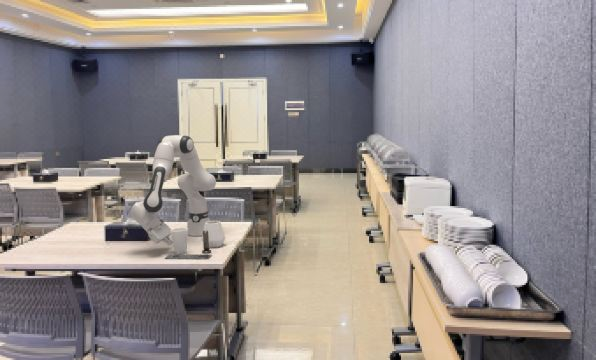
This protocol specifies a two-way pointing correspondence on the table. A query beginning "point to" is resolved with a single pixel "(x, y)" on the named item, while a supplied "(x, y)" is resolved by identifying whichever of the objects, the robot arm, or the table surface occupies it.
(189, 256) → the hole plate
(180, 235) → the foam cup
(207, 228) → the white bulging cylinder
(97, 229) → the table surface
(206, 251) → the post
